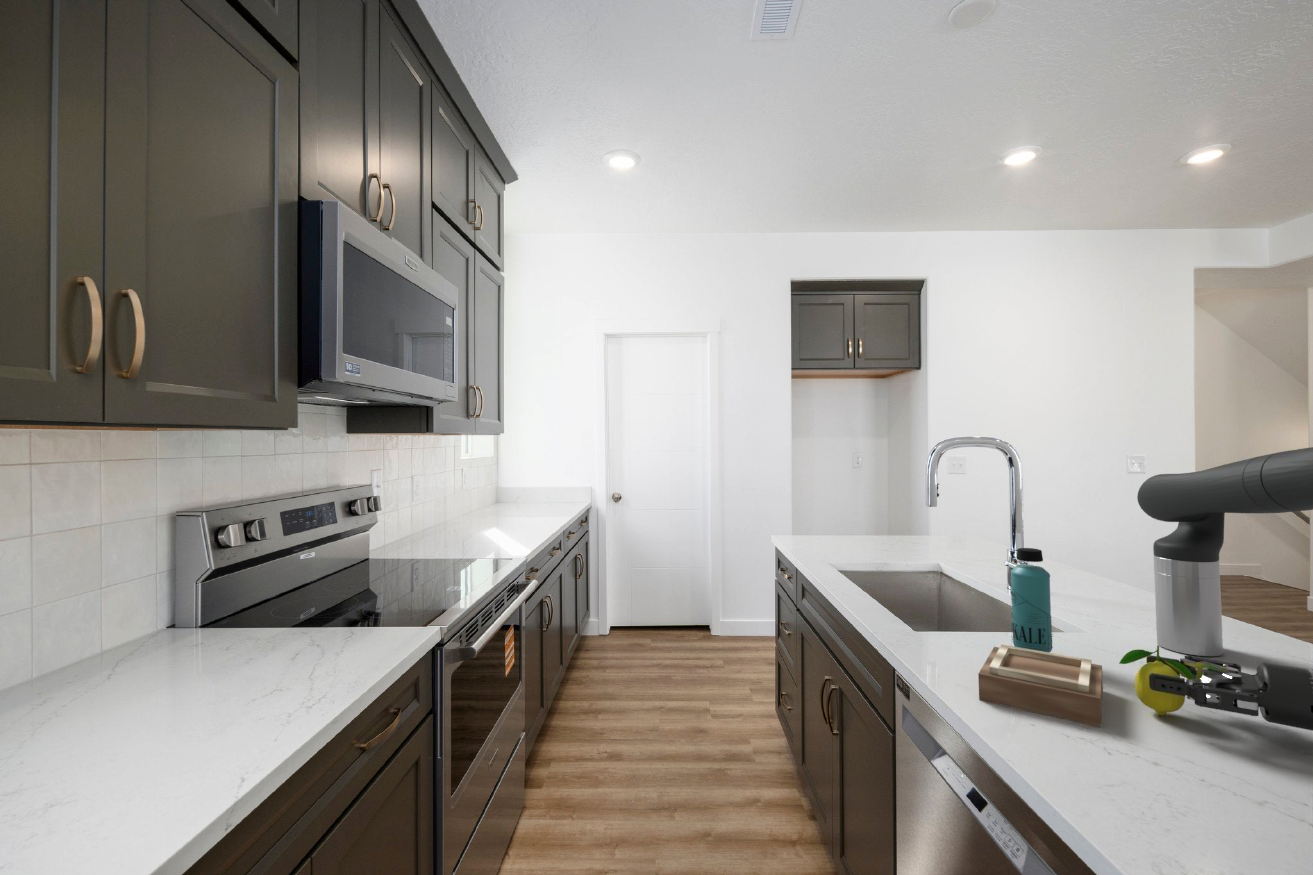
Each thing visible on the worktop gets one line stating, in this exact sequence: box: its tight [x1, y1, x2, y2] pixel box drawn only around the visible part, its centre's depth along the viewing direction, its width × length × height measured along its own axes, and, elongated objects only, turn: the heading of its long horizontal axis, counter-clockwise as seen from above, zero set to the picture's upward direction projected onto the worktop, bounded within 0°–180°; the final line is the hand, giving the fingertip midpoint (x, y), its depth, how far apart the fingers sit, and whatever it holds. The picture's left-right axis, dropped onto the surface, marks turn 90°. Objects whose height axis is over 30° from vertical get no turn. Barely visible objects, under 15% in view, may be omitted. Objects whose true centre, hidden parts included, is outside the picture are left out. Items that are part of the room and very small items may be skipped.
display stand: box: [977, 644, 1104, 728], centre depth 90 cm, size 15×15×5 cm
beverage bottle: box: [1010, 547, 1054, 653], centre depth 107 cm, size 6×7×20 cm
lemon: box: [1119, 644, 1195, 716], centre depth 83 cm, size 7×6×10 cm
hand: (1147, 671), depth 84 cm, fingers open, 8 cm apart
